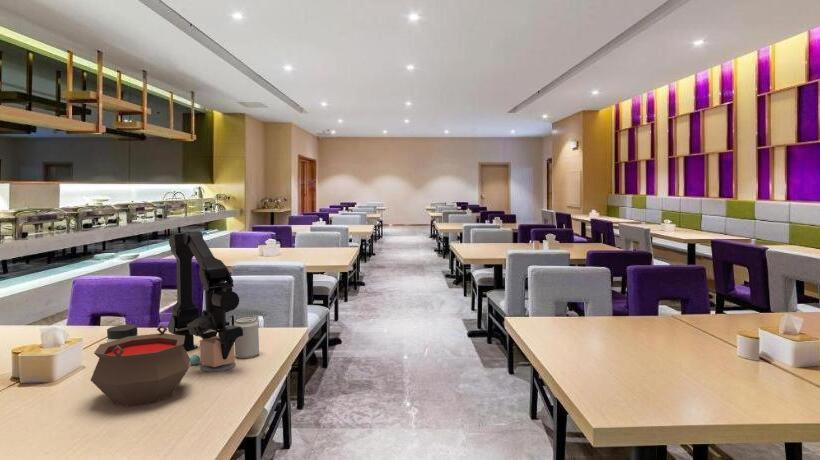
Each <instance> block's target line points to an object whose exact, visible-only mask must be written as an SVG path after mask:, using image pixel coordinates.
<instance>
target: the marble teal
mask: <svg viewBox="0 0 820 460" xmlns="http://www.w3.org/2000/svg"><path fill="white" fill-rule="evenodd" d="M189 358H190V363H189V364H191V365H194V366H196V365H198V364H199V363H201V359H200V355H198V354H193V355H191V356H190V357H189Z"/></svg>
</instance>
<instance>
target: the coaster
mask: <svg viewBox="0 0 820 460" xmlns="http://www.w3.org/2000/svg"><path fill="white" fill-rule="evenodd" d="M235 366H236V362H235V361H233V362H230V363H227V364H223V365H220V366H217V367H212V366H208V365H205V364H202V365H201V366H200V367H199V368H200V371H201V372H202V371H203V372H206V373H207V372H208V373H216V372H217V373H218V372H223V371H228V370H230V369H233V368H234V367H235Z"/></svg>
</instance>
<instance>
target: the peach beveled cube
mask: <svg viewBox="0 0 820 460" xmlns="http://www.w3.org/2000/svg"><path fill="white" fill-rule="evenodd" d="M217 338H219V336H218V335H217V336H215V337H211V338H207V339H200V340H199V354H200V355H199V357H200V364H202V365H203V364H205V365H208V366H212V367H217V366H220V365H223V364H227V363H230V362H233V361H234V362H235V361H236V360H235V359H236V357H235V356H236V355H235V343H234V344H233V346H232V348H231V350H230V353H229V355H228V357H227V359H223V357H222V350H221V343H220V342H219V341H218V340H217Z"/></svg>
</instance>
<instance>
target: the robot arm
mask: <svg viewBox="0 0 820 460" xmlns="http://www.w3.org/2000/svg"><path fill="white" fill-rule="evenodd" d="M168 244H169V247H170V251H171V252H170V253H171V254H172V255H173V256H174V258H175V260H176V292H177V293H176V297H177V300H176V303H175V304H174V306H173V308H172V310H171V311H172V312H171V317H170V319H169V322H168V324H167V331H168V333H169V334H174V335H182V336H185V339H184V344H183V347H184V349H185V350H186V352H187V351H190V350H194V349H197V348H199V346H198V345H196V344H195V342H194V341H195V340H194V336H196V337H199V338H201V340H203V339H207V338H211V337H215V336H219V338H217V340H218V341H219V342H220V343H221V350H222V357H223V359H227V357H228V355H229V353H230V350H231V348H232V346H233V344H234V345H235V340H236V338H238V337H240V336H243V328H241V327H240V326H235V325H234V324H233V325H230V321H227V313H229V312H231V311H234V310H236V309H237V308H238V306H239V304H240V297H239V295H238V293H236V292H235V291H233V288H234V285H235V284H234V279H233V277H232V275H231V272H230V271H229V268H228V267H227V265H226V264H225V263H224V262H223V261H222V260H221V259H218V258H216V257H215V256H214V254H213V252H212V251H211V249H210V247H209V246H208V244H207V243H206V241H205V239H204V236H203V232H202V231H199V230H196V231H195V230H193V231H186V232H177V233H176V232H175V233H173V234H172V235H171V236H170V237H169V238H168ZM193 258H195V260H196V263H197V264H198V265H199V267H200V268H199V273H198V275H199V279H200V281H201V283H202V285H203V288H202V290H203V291H204V299H205V300H204V301H205V302H204V303H205V309H203V310H202V312H201V316H200V313H199V312H200V311H199V308H198V307H197V305H195V304H194V302H193V301H194V300H193Z"/></svg>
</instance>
